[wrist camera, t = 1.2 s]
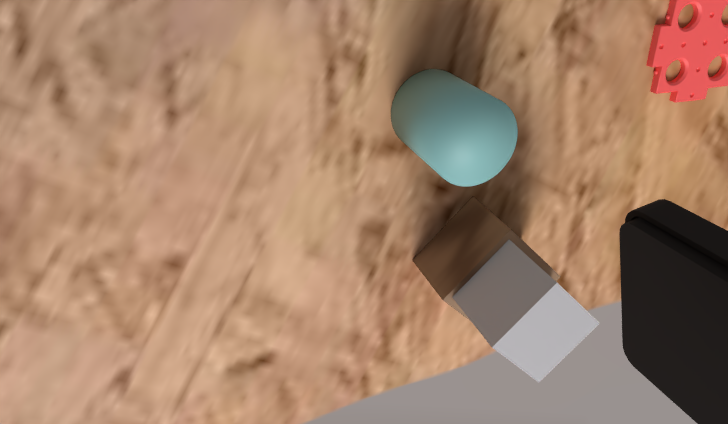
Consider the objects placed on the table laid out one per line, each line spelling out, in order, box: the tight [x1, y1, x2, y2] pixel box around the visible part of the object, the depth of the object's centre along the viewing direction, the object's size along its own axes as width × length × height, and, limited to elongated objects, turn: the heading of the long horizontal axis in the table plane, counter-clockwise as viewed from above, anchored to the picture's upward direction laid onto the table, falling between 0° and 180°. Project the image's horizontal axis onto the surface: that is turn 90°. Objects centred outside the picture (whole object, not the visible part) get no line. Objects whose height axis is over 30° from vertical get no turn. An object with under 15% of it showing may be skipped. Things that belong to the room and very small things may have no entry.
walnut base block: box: [412, 197, 561, 321], centre depth 41 cm, size 6×6×5 cm
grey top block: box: [452, 240, 599, 382], centre depth 36 cm, size 5×5×5 cm
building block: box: [647, 0, 728, 102], centre depth 41 cm, size 1×8×8 cm
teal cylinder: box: [391, 69, 518, 187], centre depth 34 cm, size 5×5×6 cm
